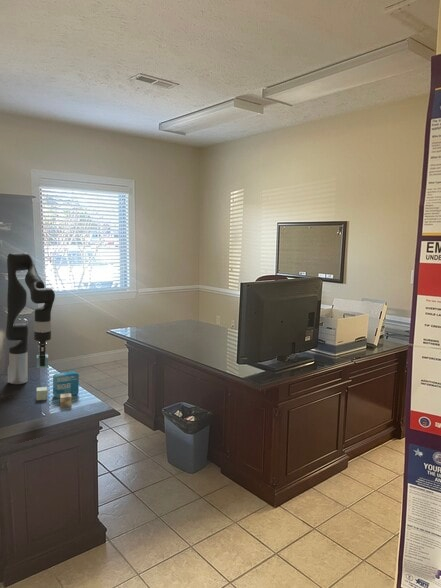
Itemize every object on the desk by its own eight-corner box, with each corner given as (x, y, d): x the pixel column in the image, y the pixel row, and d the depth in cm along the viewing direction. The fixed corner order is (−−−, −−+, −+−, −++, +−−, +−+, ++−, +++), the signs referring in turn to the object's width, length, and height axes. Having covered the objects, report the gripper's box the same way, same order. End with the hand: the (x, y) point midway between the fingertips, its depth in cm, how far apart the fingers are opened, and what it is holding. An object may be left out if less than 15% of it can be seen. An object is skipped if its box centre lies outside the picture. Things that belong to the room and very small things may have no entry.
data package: (55, 398, 219) (55, 376, 218) (52, 396, 223) (52, 373, 221) (78, 394, 227) (78, 373, 225) (75, 392, 230) (76, 370, 229)
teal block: (36, 368, 203) (36, 357, 203) (36, 364, 208) (37, 354, 207) (48, 367, 205) (48, 357, 205) (48, 364, 210) (48, 354, 209)
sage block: (36, 400, 216) (36, 391, 216) (36, 396, 221) (36, 387, 220) (47, 399, 218) (47, 390, 217) (47, 396, 223) (47, 386, 222)
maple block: (60, 407, 210) (60, 397, 209) (60, 403, 214) (60, 394, 213) (71, 406, 211) (71, 396, 211) (70, 402, 216) (70, 393, 215)
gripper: (34, 326, 209) (34, 360, 212) (33, 333, 196) (33, 369, 198) (51, 326, 212) (50, 359, 214) (51, 333, 199) (50, 368, 201)
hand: (42, 364), depth 206 cm, fingers closed on teal block, 5 cm apart
